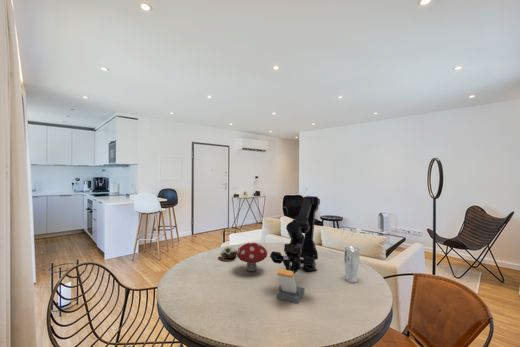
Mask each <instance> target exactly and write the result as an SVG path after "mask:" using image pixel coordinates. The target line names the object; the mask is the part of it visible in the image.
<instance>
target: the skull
mask: <svg viewBox="0 0 520 347" xmlns="http://www.w3.org/2000/svg"><path fill="white" fill-rule="evenodd" d="M237 251H238V249H237V248H236V247H234V246H233V245H226V246H225V247H223V250H222V251H220V254H219V255H218V259H219V260H220V261H223V262H235V260H236V259H237V258H238V256H237Z"/></svg>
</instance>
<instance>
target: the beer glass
mask: <svg viewBox="0 0 520 347" xmlns="http://www.w3.org/2000/svg"><path fill="white" fill-rule="evenodd" d="M343 262H344V269H345V275H344V280H345V281H346V282H348V283H355V284H356V283H358V282H359V277H358V272H359V271H358V270H359V266H360V249H359V248H358V247H356V246H355V247H353V246H345V247H344V252H343Z"/></svg>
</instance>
